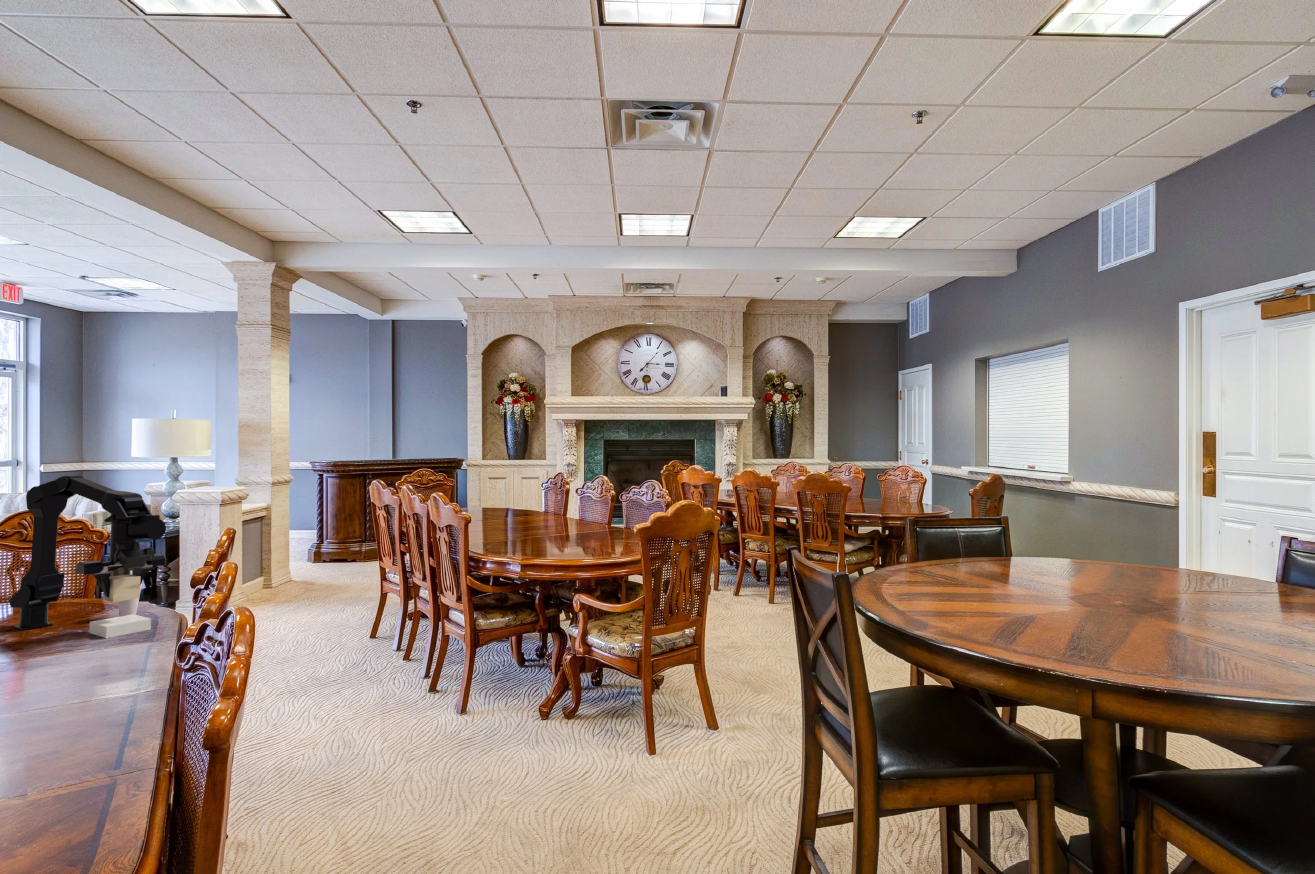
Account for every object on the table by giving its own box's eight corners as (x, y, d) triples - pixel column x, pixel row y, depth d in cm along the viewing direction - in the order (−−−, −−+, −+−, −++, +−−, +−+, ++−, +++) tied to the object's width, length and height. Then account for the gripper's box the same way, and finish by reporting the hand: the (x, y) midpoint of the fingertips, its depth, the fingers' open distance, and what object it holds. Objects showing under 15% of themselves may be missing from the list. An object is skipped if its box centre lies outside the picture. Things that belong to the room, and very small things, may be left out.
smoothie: (125, 620, 186) (127, 572, 186) (107, 619, 187) (109, 571, 187) (146, 615, 192) (148, 569, 192) (129, 614, 193) (131, 568, 194)
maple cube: (102, 599, 174) (103, 577, 174) (129, 595, 179) (130, 574, 179) (113, 602, 171) (114, 579, 171) (139, 597, 176) (140, 576, 176)
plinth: (89, 632, 173) (89, 621, 173) (133, 624, 182) (133, 614, 182) (106, 638, 168) (106, 626, 168) (150, 629, 177) (151, 618, 177)
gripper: (95, 544, 164) (92, 605, 163) (177, 537, 180) (175, 592, 179) (76, 541, 169) (73, 600, 168) (157, 534, 185) (155, 588, 185)
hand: (121, 595), depth 175 cm, fingers closed on maple cube, 6 cm apart
